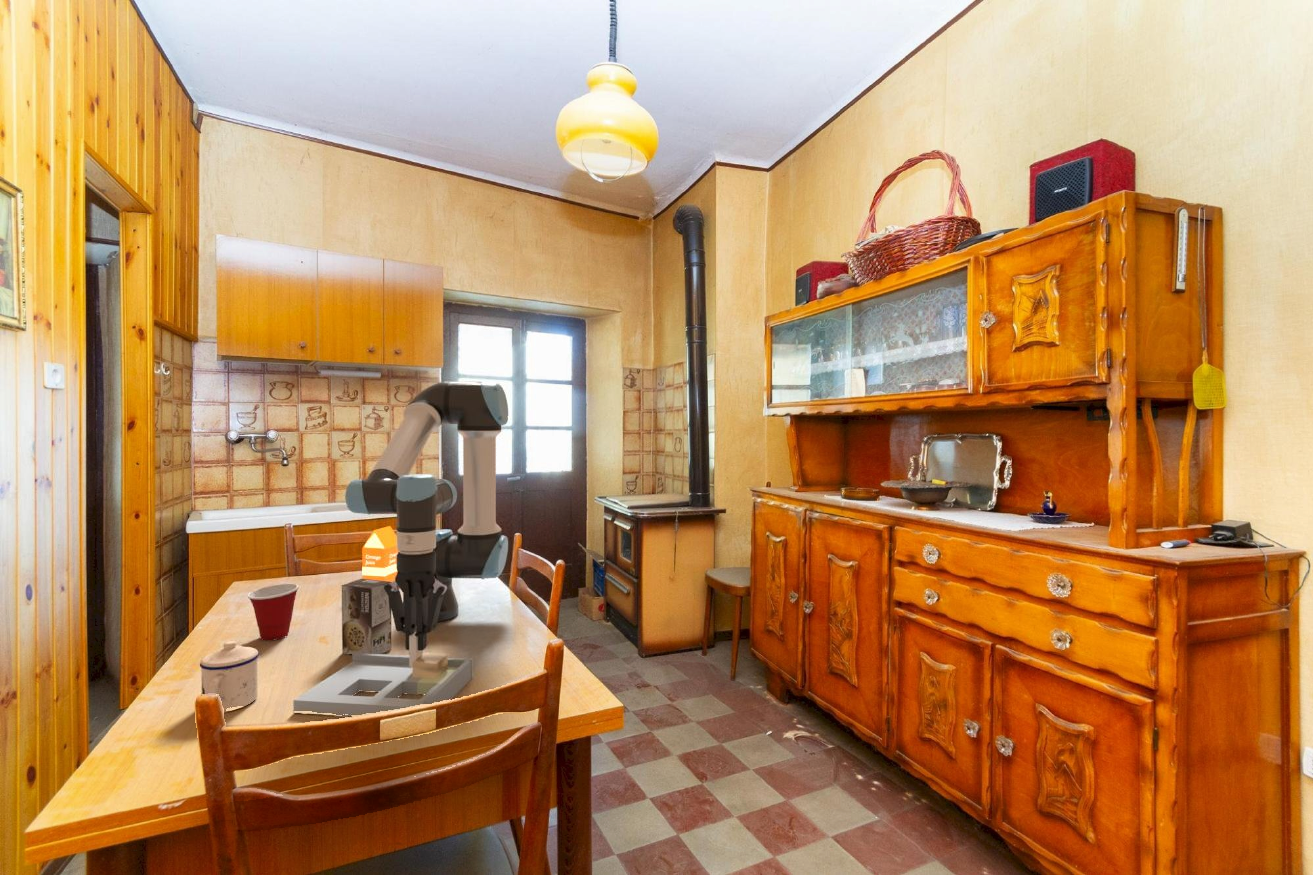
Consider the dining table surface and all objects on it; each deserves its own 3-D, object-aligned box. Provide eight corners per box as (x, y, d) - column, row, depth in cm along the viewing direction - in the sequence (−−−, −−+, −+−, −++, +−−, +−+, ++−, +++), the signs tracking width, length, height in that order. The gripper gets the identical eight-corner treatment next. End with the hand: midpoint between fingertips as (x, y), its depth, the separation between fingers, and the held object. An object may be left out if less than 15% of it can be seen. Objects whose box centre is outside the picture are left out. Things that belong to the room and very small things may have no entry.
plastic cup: (241, 636, 149) (241, 588, 148) (291, 626, 157) (291, 580, 156) (253, 648, 141) (253, 597, 141) (305, 636, 149) (305, 588, 149)
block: (424, 667, 126) (424, 652, 125) (447, 668, 125) (447, 654, 125) (412, 677, 121) (412, 662, 121) (436, 678, 120) (436, 663, 120)
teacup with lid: (213, 695, 117) (213, 635, 117) (266, 690, 119) (266, 632, 119) (182, 725, 105) (181, 659, 105) (241, 719, 108) (241, 654, 108)
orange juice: (361, 594, 187) (361, 529, 186) (379, 586, 195) (379, 525, 195) (384, 595, 185) (384, 531, 185) (401, 588, 194) (401, 526, 194)
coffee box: (392, 649, 142) (393, 581, 142) (371, 659, 136) (371, 588, 135) (362, 644, 145) (362, 577, 145) (340, 653, 139) (340, 584, 138)
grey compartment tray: (355, 671, 129) (355, 652, 129) (472, 677, 127) (472, 658, 126) (291, 714, 110) (291, 693, 110) (428, 723, 107) (428, 701, 107)
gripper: (375, 553, 120) (375, 670, 120) (438, 555, 119) (437, 674, 119) (395, 545, 127) (395, 656, 128) (455, 547, 126) (454, 659, 126)
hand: (415, 665), depth 123 cm, fingers closed
